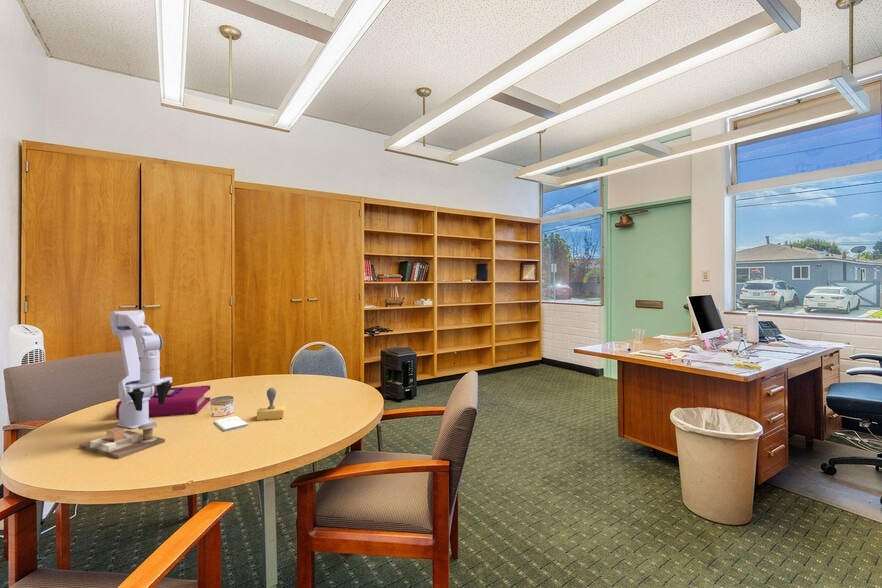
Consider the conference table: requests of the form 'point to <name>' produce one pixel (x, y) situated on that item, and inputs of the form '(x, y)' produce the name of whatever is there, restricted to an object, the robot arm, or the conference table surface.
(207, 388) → the book
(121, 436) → the orange and brown block
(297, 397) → the conference table surface
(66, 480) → the conference table surface
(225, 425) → the external hard drive
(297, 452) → the conference table surface
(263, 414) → the rubber stamp
